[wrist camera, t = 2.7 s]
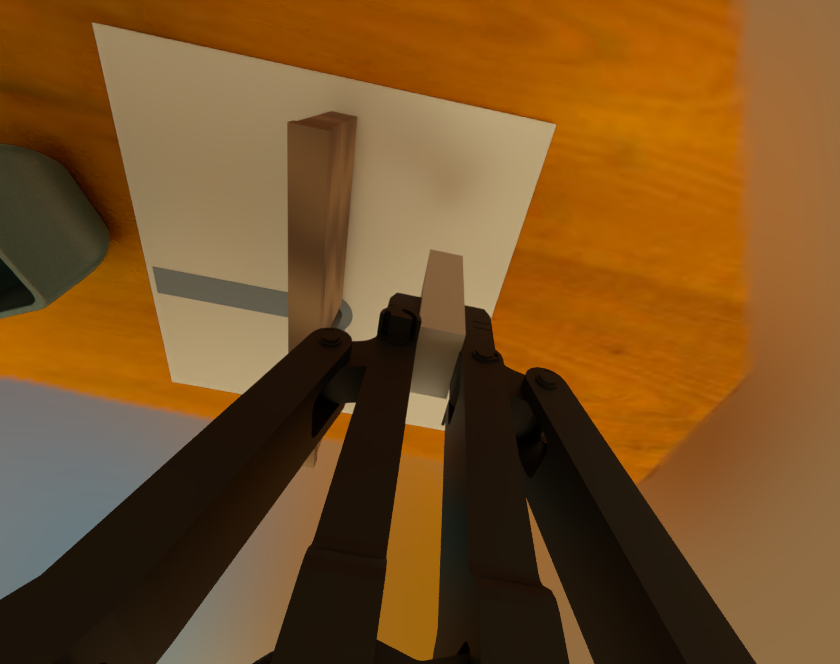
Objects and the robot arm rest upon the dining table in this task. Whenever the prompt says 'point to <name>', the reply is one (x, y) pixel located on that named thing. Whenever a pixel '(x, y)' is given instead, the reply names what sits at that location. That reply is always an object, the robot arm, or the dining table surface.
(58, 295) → the flower pot
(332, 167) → the fence panel
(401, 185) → the card
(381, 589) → the robot arm
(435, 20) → the dining table surface
